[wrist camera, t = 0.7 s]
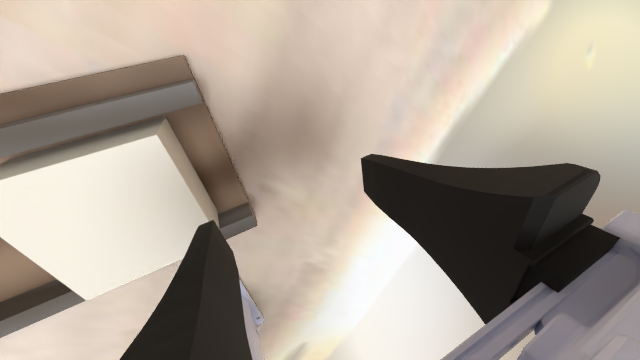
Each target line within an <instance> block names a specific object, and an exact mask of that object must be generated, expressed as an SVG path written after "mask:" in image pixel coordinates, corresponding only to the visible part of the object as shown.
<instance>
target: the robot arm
mask: <svg viewBox="0 0 640 360" xmlns="http://www.w3.org/2000/svg"><path fill="white" fill-rule="evenodd" d="M361 164H362V175H363V185H364V192H365V193H366V194H367V195H368V197H369V198H370V199H371V200H372V201H373V202H374V203H375V205H376V206H378V207H379V208H380V209H381V210H382V211H383V212H384V213H385V214H387V215H388V216H389V217H390V218H391V219H392V220H393V221H395V222H396V223H397V224H398V225H399V226H400V227H402V228H403V229H404V230H405V231H406V232H407V233H408V234H410V235H411V236H412V237H413V238H414V239H415V240H416V241H417V242H418V243H419V244H420V245H421V247H422V248H423V249H424V250H425V251H426V252H427V253H428V254H429V255H430V256H431V257H432V258H433V260H434V261H435V262H436V263H437V264H438V265H439V266H440V267H441V269H442V270H443V271H444V272H445V273H446V274H447V276H448V277H449V278H450V279H451V281H452V282H453V283H454V284H455V285H456V286H457V288H458V289H459V290H460V291H461V293H462V294H463V295H464V297H465V298H466V299H467V301H468V302H469V303H470V305H471V306H472V307H473V308H474V310H475V311H476V312H477V314H478V315H479V316H480V318H481V319H482V321H483V322H484V323H485V324H486V325H485V326H484V327H482V328H481V329H480V330H478V331H477V332H476V333H474V334H473V335H472V336H471V337H469V338H468V339H467V340H465V341H464V342H463V343H462V344H460V345H459V346H458V347H456V348H455V349H454V350H453V351H451V352H450V353H449V354H447V355H446V356H445V357H443V358H442V359H441V360H499V359H500V358H501V357H502V356H503V355H504V354H506V353H507V352H508V351H509V350H511V349H512V348H513V347H514V346H515V345H516V344H518V343H519V342H520V341H521V340H522V339H523V338H525V337H526V336H527V335H528V334H529V333H531V332H532V331H533V330H534V329H535V330H534V331H535V335H536V336H535V337H534V338H533V339H532V340H531V341H530V342H529V343H528V344H527V345H526V346H525V347H524V348H523V351H522V353H521V354H520V356H519V357H518V359H517V360H640V215H639V214H637V213H634V212H632V211H629V210H623V211H621V212H620V213H619V214H618V215H616V216H615V217H614V218H612V219H611V220H610V221H608V222H607V223H606V224H605V225H604V226H603V227H602V228H601V229H599V228H597V227H595V226H592V225H590V224H592V223H593V221H594V220H593V218H591V217H589V216H586V215H584V214H582V213H583V211H584V209H585V207H586V206H587V204H588V202H589V201H590V199H591V197H592V196H593V194H594V192H595V190H596V189H597V187H598V184H599V181H600V174H599V173H598V171H596V170H592V169H589V168H586V167H582V166H579V165H575V164H568V163H565V164H555V165H545V166H534V167H516V168H465V167H452V166H442V165H434V164H427V163H421V162H415V161H409V160H404V159H399V158H394V157H388V156H383V155H376V154H370V155H368V156H365V157H363V158H361ZM263 322H264V317H263V316H262V314H261V312H260V311H259V309H258V308H257V306H256V304H255V303H254V301H253V299H252V298H251V296H250V295H249V293H248V291H247V290H246V288H245V287H244V285H243V283H242V282H241V280H240V278H239V273H238V269H237V265H236V261H235V258H234V254H233V251H232V250H231V248H230V246H229V245H228V243H227V241H226V240H225V238H224V236H223V235H222V233H221V231H220V230H219V228H218V226H217V225H216V223H215V221H214V220H212V221H209V222H207V223H204V224H202V225H199V226H198V228H197V230H196V232H195V234H194V236H193V238H192V241H191V243H190V245H189V247H188V250H187V252H186V254H185V256H184V258H183V260H182V262H181V264H180V266H179V268H178V270H177V272H176V274H175V276H174V278H173V280H172V282H171V283H170V285H169V287H168V289H167V291H166V293H165V294H164V296H163V298H162V299H161V301H160V302H159V304H158V306H157V307H156V309H155V310H154V312H153V313H152V315H151V316H150V318H149V319H148V321H147V323H146V324H145V325H144V327H143V328H142V330H141V331H140V333H139V334H138V335H137V337H136V338H135V339H134V341H133V342H132V343H131V345H130V346H129V347H128V349H127V350H126V352H125V353H124V354H123V356H122V357H121V358H120V360H265V359H264V355H263V350H262V346H261V341H260V337H259V332H258V328H257V326H259V325H260V324H262V323H263Z"/></svg>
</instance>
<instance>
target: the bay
mask: <svg viewBox="0 0 640 360" xmlns="http://www.w3.org/2000/svg"><path fill="white" fill-rule="evenodd" d="M162 117H166V119H167V121H168V123H169V124H170V126H171V128H172V130H173V132H174V133H175V135H176V137H177V139H178V141H179V142H180V144H181V146H182V148H183V150H184V151H185V153H186V155H187V157H188V159H189V160H190V162H191V164H192V166H193V168H194V169H195V171H196V173H197V175H198V177H199V178H200V180H201V182H202V184H203V186H204V187H205V189H206V191H207V193H208V195H209V197H210V198H211V200H212V202H213V204H214V206H215V207H216V209H217V213H218V220H219V228H220V231H221V233H222V235H223V236H224V238H225V240H226V239H228V238H230V237H233V236H235V235H237V234H240V233H242V232H244V231H246V230H249V229H251V228H253V227H256V226H257V220H256V217H255V215H254V213H253V210H252V208H251V206H250V203H249V201H248V199H247V197H246V194H245V192H244V190H243V188H242V185H241V183H240V181H239V179H238V176H237V174H236V172H235V170H234V167H233V165H232V163H231V161H230V158H229V156H228V154H227V152H226V149H225V147H224V145H223V142H222V140H221V138H220V136H219V133H218V131H217V129H216V127H215V124H214V122H213V120H212V118H211V115H210V113H209V111H208V109H207V106H206V104H205V102H204V100H203V97H202V95H201V93H200V91H199V88H198V86H197V84H196V81H195V79H194V77H193V75H192V72H191V70H190V68H189V66H188V63H187V61H186V59H185V57H184V55H183V56H178V57H173V58H169V59H164V60H159V61H154V62H150V63H145V64H140V65H136V66H131V67H126V68H121V69H117V70H112V71H107V72H102V73H98V74H93V75H88V76H83V77H79V78H74V79H69V80H65V81H60V82H55V83H50V84H46V85H41V86H36V87H31V88H27V89H22V90H17V91H13V92H8V93H3V94H0V164H1V163H3V162H5V161H7V160H9V159H12V158H16V157H20V156H23V155H27V154H31V153H34V152H38V151H42V150H45V149H49V148H53V147H56V146H60V145H64V144H67V143H71V142H74V141H78V140H82V139H85V138H89V137H93V136H96V135H100V134H104V133H107V132H111V131H115V130H118V129H122V128H126V127H129V126H133V125H137V124H140V123H144V122H147V121H151V120H155V119H158V118H162ZM84 301H86V300H85V299H84V298H82V297H81V296H79V295H78V294H77V293H75V292H74V291H73V290H71V289H70V288H69V287H67V286H66V285H65V284H63V283H62V282H60V281H59V280H58V279H56V278H55V277H54V276H52V275H51V274H50V273H48V272H47V271H46V270H44V269H43V268H41V267H40V266H39V265H37V264H36V263H35V262H33V261H32V260H31V259H29V258H28V257H27V256H25V255H24V254H23V253H21V252H20V251H18V250H17V249H16V248H14V247H13V246H12V245H10V244H9V243H8V242H6V241H5V240H4V239H2V238H1V237H0V338H1V337H3V336H6V335H8V334H10V333H13V332H15V331H17V330H20V329H22V328H24V327H26V326H29V325H31V324H33V323H36V322H38V321H40V320H42V319H45V318H47V317H49V316H52V315H54V314H56V313H58V312H61V311H63V310H65V309H68V308H70V307H72V306H75V305H77V304H79V303H81V302H84Z"/></svg>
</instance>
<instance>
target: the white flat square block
mask: <svg viewBox="0 0 640 360" xmlns="http://www.w3.org/2000/svg"><path fill="white" fill-rule="evenodd" d="M212 220H214V221H215V223H216V225H217V226H218V228H219V220H218V213H217V209H216V207H215V206H214V204H213V202H212V200H211V198H210V197H209V195H208V193H207V191H206V189H205V187H204V186H203V184H202V182H201V180H200V178H199V177H198V175H197V173H196V171H195V169H194V168H193V166H192V164H191V162H190V160H189V159H188V157H187V155H186V153H185V151H184V150H183V148H182V146H181V144H180V142H179V141H178V139H177V137H176V135H175V133H174V132H173V130H172V128H171V126H170V124H169V123H168V121H167V119H166V117H162V118H158V119H155V120H151V121H147V122H144V123H140V124H137V125H133V126H129V127H126V128H122V129H118V130H115V131H111V132H107V133H104V134H100V135H96V136H93V137H89V138H85V139H82V140H78V141H74V142H71V143H67V144H64V145H60V146H56V147H53V148H49V149H45V150H42V151H38V152H34V153H31V154H27V155H23V156H20V157H16V158H12V159H9V160H7V161H5V162H3V163H1V164H0V237H1V238H2V239H4V240H5V241H6V242H8V243H9V244H10V245H12V246H13V247H14V248H16V249H17V250H18V251H20V252H21V253H23V254H24V255H25V256H27V257H28V258H29V259H31V260H32V261H33V262H35V263H36V264H37V265H39V266H40V267H41V268H43V269H44V270H46V271H47V272H48V273H50V274H51V275H52V276H54V277H55V278H56V279H58V280H59V281H60V282H62V283H63V284H65V285H66V286H67V287H69V288H70V289H71V290H73V291H74V292H75V293H77V294H78V295H79V296H81V297H82V298H84V299H85V300H86V301H87V300H90V299H92V298H94V297H97V296H99V295H101V294H103V293H106V292H108V291H110V290H113V289H115V288H117V287H119V286H122V285H124V284H126V283H129V282H131V281H133V280H135V279H138V278H140V277H142V276H145V275H147V274H149V273H151V272H154V271H156V270H158V269H161V268H163V267H165V266H167V265H170V264H172V263H174V262H177V261H179V260H181V259H183V258H184V256H185V254H186V252H187V250H188V247H189V245H190V243H191V241H192V238H193V236H194V234H195V232H196V230H197V228H198V226H199V225H202V224H204V223H207V222H209V221H212ZM219 230H220V228H219Z"/></svg>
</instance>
